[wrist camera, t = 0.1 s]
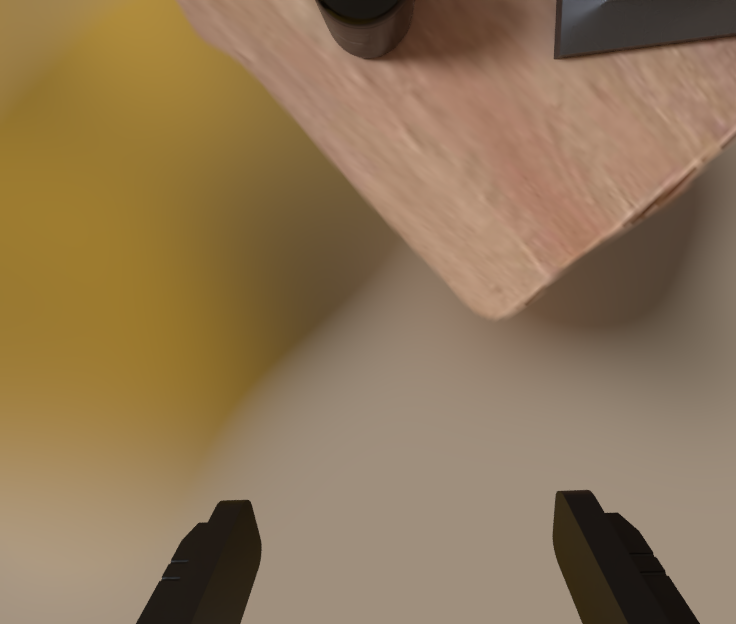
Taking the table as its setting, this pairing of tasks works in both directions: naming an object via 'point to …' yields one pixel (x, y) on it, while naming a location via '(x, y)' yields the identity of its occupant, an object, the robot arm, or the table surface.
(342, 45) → the supplement bottle
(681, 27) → the square planter box
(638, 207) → the table surface
